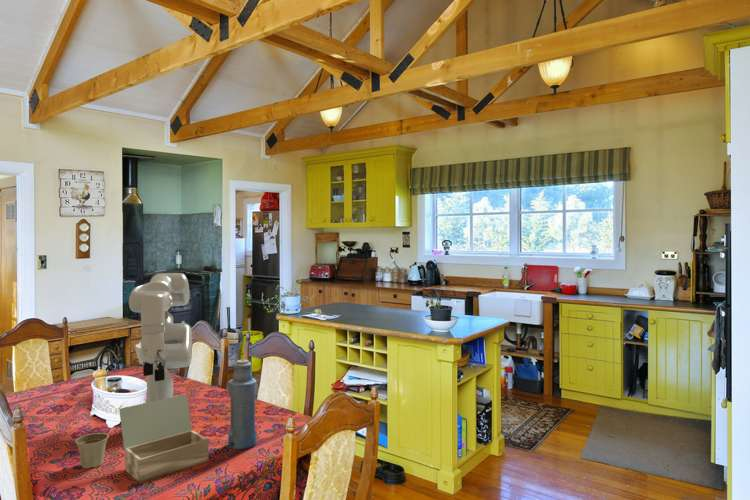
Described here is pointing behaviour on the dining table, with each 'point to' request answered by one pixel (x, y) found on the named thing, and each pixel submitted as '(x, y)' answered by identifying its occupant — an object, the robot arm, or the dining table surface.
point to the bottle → (242, 407)
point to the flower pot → (92, 449)
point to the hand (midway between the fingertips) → (153, 377)
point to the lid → (154, 420)
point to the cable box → (166, 455)
